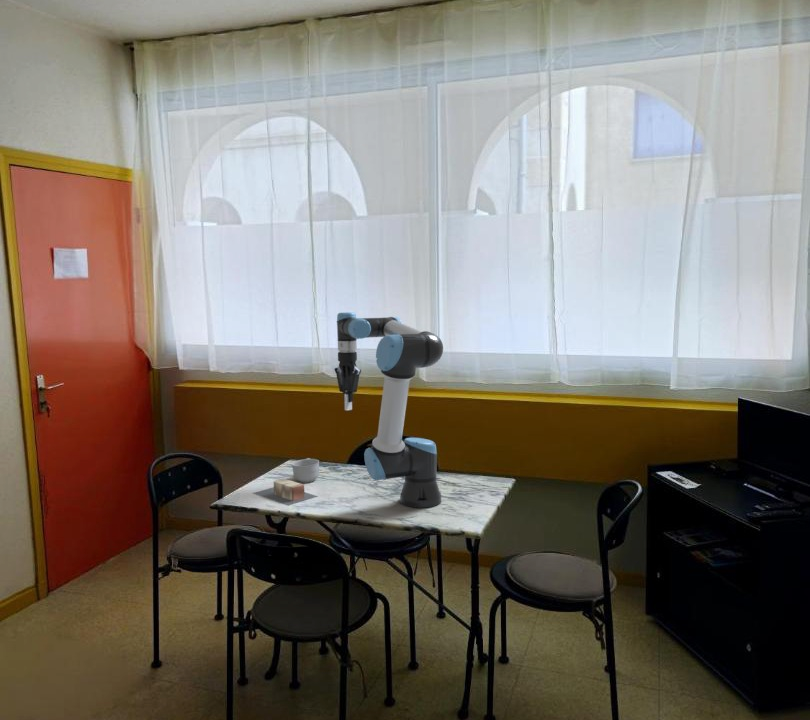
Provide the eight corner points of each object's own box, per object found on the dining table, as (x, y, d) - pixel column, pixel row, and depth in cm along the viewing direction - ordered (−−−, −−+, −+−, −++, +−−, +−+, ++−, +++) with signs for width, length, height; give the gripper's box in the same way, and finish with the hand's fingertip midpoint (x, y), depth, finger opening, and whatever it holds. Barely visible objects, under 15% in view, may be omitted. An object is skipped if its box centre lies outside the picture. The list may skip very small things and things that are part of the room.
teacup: (314, 485, 270) (314, 465, 270) (288, 484, 272) (288, 464, 271) (325, 475, 284) (324, 457, 283) (300, 474, 286) (299, 456, 285)
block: (284, 491, 262) (304, 497, 254) (274, 494, 258) (293, 501, 250) (284, 478, 261) (304, 484, 253) (273, 481, 257) (293, 487, 249)
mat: (318, 497, 255) (318, 496, 255) (288, 506, 245) (288, 505, 245) (282, 485, 270) (282, 484, 270) (252, 494, 260) (252, 493, 260)
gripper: (329, 351, 272) (330, 409, 274) (352, 353, 263) (353, 413, 266) (342, 349, 277) (343, 406, 280) (365, 351, 269) (366, 410, 271)
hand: (348, 409), depth 273 cm, fingers closed
